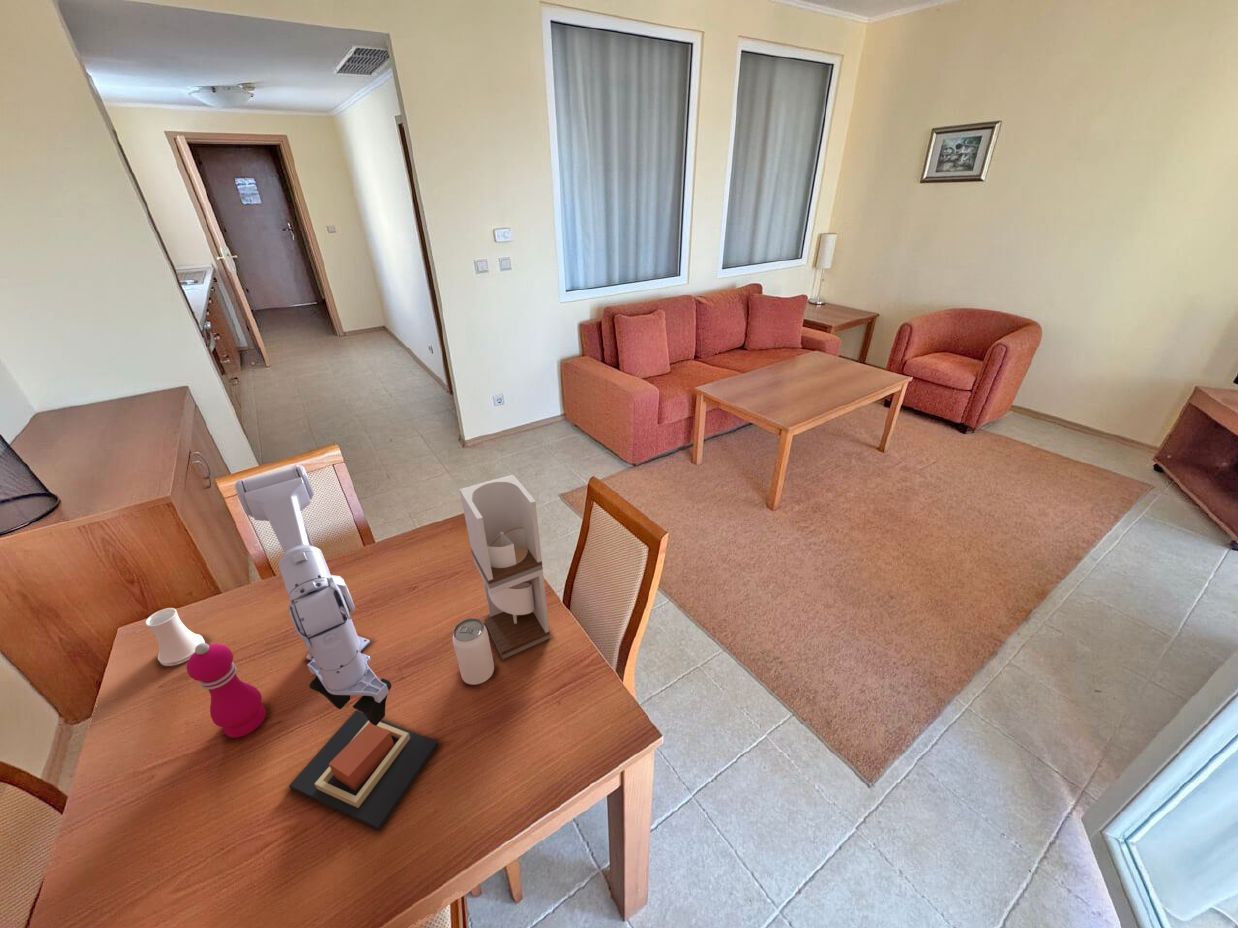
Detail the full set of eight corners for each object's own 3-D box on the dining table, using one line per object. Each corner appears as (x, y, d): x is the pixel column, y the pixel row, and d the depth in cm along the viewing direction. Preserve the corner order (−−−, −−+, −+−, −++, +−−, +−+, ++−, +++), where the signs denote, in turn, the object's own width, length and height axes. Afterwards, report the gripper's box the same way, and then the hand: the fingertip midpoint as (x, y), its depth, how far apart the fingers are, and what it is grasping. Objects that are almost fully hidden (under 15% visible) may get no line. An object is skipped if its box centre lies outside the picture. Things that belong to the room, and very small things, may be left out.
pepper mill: (278, 710, 92) (237, 633, 82) (241, 746, 86) (192, 668, 76) (250, 698, 94) (206, 623, 84) (212, 733, 88) (160, 656, 78)
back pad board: (290, 788, 80) (285, 780, 79) (357, 713, 91) (353, 704, 90) (379, 830, 74) (375, 822, 73) (438, 744, 86) (436, 735, 85)
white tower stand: (485, 623, 110) (459, 489, 93) (530, 604, 115) (513, 474, 98) (502, 659, 101) (477, 518, 85) (550, 638, 106) (535, 501, 89)
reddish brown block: (335, 778, 80) (328, 763, 78) (376, 735, 86) (370, 721, 84) (355, 791, 78) (348, 776, 76) (395, 746, 85) (389, 732, 83)
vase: (160, 672, 100) (136, 637, 95) (159, 649, 105) (136, 615, 100) (206, 652, 104) (186, 617, 99) (203, 631, 109) (183, 597, 104)
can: (486, 688, 95) (476, 645, 90) (455, 683, 97) (444, 639, 91) (499, 661, 101) (491, 618, 95) (470, 656, 102) (460, 613, 96)
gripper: (394, 649, 76) (413, 705, 82) (325, 622, 80) (348, 677, 87) (357, 686, 70) (380, 744, 76) (285, 655, 75) (313, 712, 81)
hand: (361, 711), depth 81 cm, fingers open, 7 cm apart
